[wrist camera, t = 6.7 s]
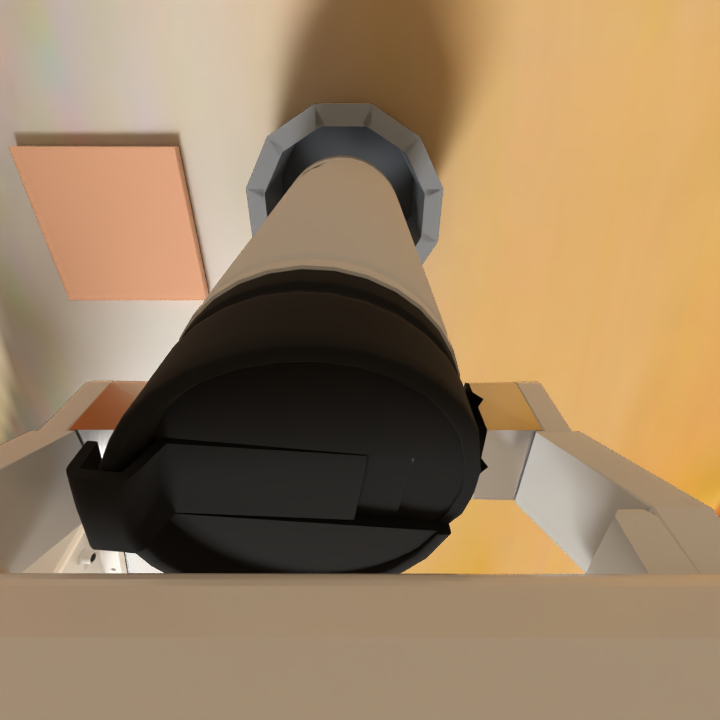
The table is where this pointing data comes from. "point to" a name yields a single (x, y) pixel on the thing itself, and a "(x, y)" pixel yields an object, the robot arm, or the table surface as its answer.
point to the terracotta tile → (115, 220)
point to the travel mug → (296, 406)
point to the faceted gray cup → (358, 139)
